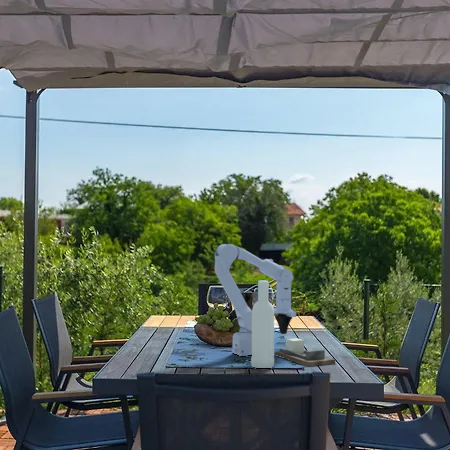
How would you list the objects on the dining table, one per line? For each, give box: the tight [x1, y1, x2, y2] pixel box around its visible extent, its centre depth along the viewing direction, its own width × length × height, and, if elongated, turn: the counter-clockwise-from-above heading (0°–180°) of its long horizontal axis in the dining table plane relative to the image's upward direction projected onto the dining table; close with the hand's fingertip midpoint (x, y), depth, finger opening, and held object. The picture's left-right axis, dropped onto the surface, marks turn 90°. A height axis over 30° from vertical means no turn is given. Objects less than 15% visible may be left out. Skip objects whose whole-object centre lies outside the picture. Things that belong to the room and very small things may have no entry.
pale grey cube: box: [285, 337, 305, 354], centre depth 225 cm, size 5×5×5 cm
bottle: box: [250, 279, 275, 368], centre depth 206 cm, size 8×8×30 cm
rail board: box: [274, 348, 336, 367], centre depth 220 cm, size 12×22×4 cm, turn 28°
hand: (283, 333), depth 233 cm, fingers closed
